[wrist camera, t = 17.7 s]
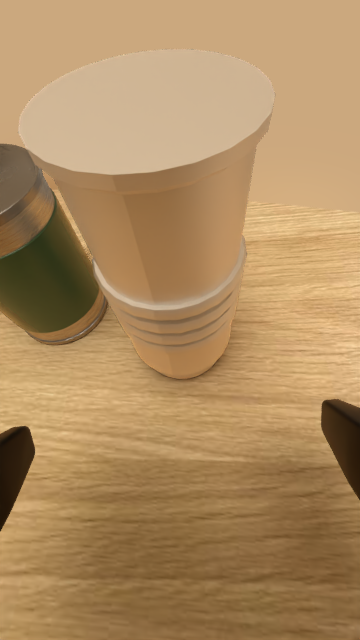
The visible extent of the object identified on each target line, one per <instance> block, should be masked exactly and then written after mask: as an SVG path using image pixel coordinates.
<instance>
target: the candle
mask: <svg viewBox="0 0 360 640" xmlns="http://www.w3.org/2000/svg"><path fill="white" fill-rule="evenodd" d="M274 99H275V92H274V90H273V87H272V84H271V81H270V79H269V78H268V77H267V76H266V75H265V74H264V73H262V71H261V70H259V69H258V68H257V67H256V66H254V65H252V64H250V63H247V62H246V61H243V60H241V59H239V58H236V57H233V56H229V55H225V54H221V53H218V52H211V51H202V50H194V49H162V50H153V51H143V52H135V53H131V54H125V55H120V56H115V57H111V58H108V59H104V60H101V61H98V62H95V63H92V64H88V65H86V66H83V67H81V68H79V69H76V70H74V71H72V72H69V73H67V74H65V75H63V76H62V77H60V78H58V79H57V80H55V81H53V82H52V83H50V84H48V85H47V86H45V87H44V88H43V89H42V90H40V91H39V92H38V93H37V94H36V95H35V96H34V97H33V98H32V99H31V100H29V102H28V104H27V105H26V107H25V108H24V110H23V112H22V113H21V115H20V119H19V130H18V133H19V135H20V137H21V139H22V141H23V143H24V145H25V147H26V148H27V151H28V152H29V154H30V156H31V158H32V160H33V162H34V163H35V165H36V166H38V167H39V168H40V169H42V170H43V171H44V172H46V173H47V174H48V175H50V176H51V177H52V178H53V179H54V181H55V183H56V185H57V186H58V189H59V191H60V193H61V195H62V197H63V199H64V201H65V203H66V205H67V207H68V209H69V211H70V213H71V215H72V217H73V219H74V221H75V223H76V224H77V226H78V228H79V230H80V232H81V234H82V236H83V238H84V240H85V242H86V244H87V246H88V248H89V250H90V252H91V254H92V256H93V259H92V264H93V272H94V277H95V279H96V281H97V283H98V285H99V287H100V288H101V290H102V292H103V294H104V295H105V297H106V299H107V301H108V303H109V305H110V307H111V309H112V310H113V312H114V314H115V316H116V318H117V319H118V321H119V323H120V325H121V327H122V328H123V330H124V332H125V333H126V334H127V335H128V336H129V337H130V338H131V341H132V344H133V346H134V348H135V350H136V352H137V354H138V356H139V357H140V358H141V359H142V360H143V361H144V362H145V363H146V364H147V365H148V366H150V367H152V368H154V369H155V370H156V371H158V372H159V373H161V374H163V375H165V376H167V377H171V378H175V379H188V378H192V377H196V376H199V375H201V374H202V373H204V372H206V371H208V370H209V369H210V368H211V367H212V366H213V365H214V364H215V363H216V361H217V359H218V358H219V357H220V356H221V355H222V354H223V352H224V351H225V349H226V347H227V345H228V343H229V339H230V334H231V322H232V320H233V318H234V317H235V312H236V307H237V302H238V297H239V292H240V287H241V281H242V277H243V272H244V266H245V261H246V256H247V251H246V244H245V238H244V236H243V235H242V233H243V227H244V221H245V214H246V208H247V202H248V195H249V189H250V183H251V177H252V170H253V164H254V158H255V152H256V146H257V144H258V143H259V141H260V140H261V139H262V137H263V136H264V135H265V134H266V132H267V131H268V128H269V124H270V119H271V115H272V110H273V105H274Z"/></svg>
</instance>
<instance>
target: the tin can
mask: <svg viewBox="0 0 360 640" xmlns="http://www.w3.org/2000/svg"><path fill="white" fill-rule="evenodd" d="M106 307H107V299H106V297H105V295H104V294H103V292H102V290H101V288H100V287H99V285H98V283H97V281H96V279H95V277H94V272H93V265H92V263H91V262H90V260H89V258H88V256H87V254H86V252H85V250H84V248H83V247H82V245H81V243H80V241H79V239H78V237H77V235H76V233H75V231H74V230H73V228H72V226H71V224H70V222H69V220H68V218H67V216H66V214H65V213H64V211H63V209H62V207H61V205H60V203H59V201H58V199H57V198H56V196H55V194H54V192H53V191H52V189H51V188H50V187H49V186H48V184H47V182H46V180H45V178H44V176H43V173H42V169H40V168H39V167H38V166H36V165H35V163H34V162H33V160H32V158H31V156H30V154H29V152H28V151H27V150H26V149H25V148H22V147H19V146H16V145H10V144H0V312H2V313H3V314H4V315H5V316H7V317H8V318H9V319H10V320H12V321H13V322H14V323H15V324H17V325H18V326H19V327H21V328H22V329H24V330H25V331H26V332H27V333H28V334H29V335H30V336H31V337H32V338H34V339H35V340H37V341H39V342H41V343H45V344H50V345H60V344H66V343H70V342H73V341H76V340H78V339H80V338H82V337H83V336H85V335H86V334H88V333H89V332H90V331H92V330H93V329H94V328H95V327H96V326H97V324H98V323H99V322H100V320H101V319H102V317H103V315H104V313H105V311H106Z"/></svg>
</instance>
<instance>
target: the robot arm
mask: <svg viewBox="0 0 360 640" xmlns="http://www.w3.org/2000/svg"><path fill="white" fill-rule="evenodd" d="M321 427H322V431H323V433H324V435H325V437H326V439H327V441H328V443H329V445H330V447H331V449H332V451H333V453H334V455H335V457H336V459H337V461H338V463H339V465H340V467H341V469H342V471H343V473H344V475H345V477H346V479H347V480H348V482H349V484H350V485H351V487H352V489H353V490H354V492H355V494H356V495H357V497H358V498H359V500H360V408H359V407H356V406H354V405H351V404H349V403H346V402H344V401H341V400H338V399H332V400H324V401H323V403H322V414H321ZM34 455H35V447H34V443H33V439H32V436H31V432H30V429H29V428H28V427H27V426H20V427H13V428H11V429H9V430H7V431H5V432H3V433H1V434H0V531H1V529H2V527H3V525H4V524H5V522H6V520H7V518H8V516H9V514H10V512H11V510H12V508H13V506H14V503H15V501H16V499H17V496H18V494H19V492H20V489H21V487H22V485H23V482H24V480H25V477H26V475H27V473H28V470H29V468H30V465H31V463H32V461H33V458H34Z"/></svg>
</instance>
